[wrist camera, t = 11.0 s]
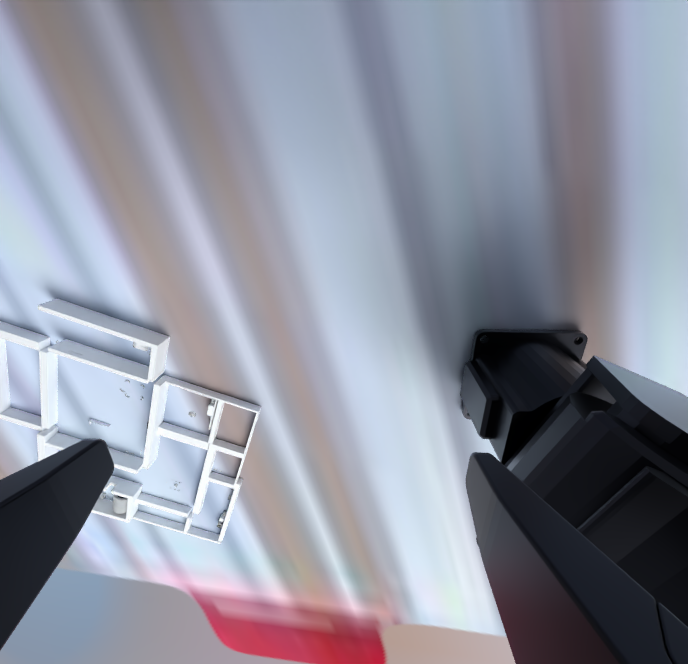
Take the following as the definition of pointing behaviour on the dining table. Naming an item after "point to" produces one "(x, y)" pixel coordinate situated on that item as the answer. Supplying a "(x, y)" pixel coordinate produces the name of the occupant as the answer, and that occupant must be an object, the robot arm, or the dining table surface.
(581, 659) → the robot arm
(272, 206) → the dining table surface
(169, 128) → the dining table surface
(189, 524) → the floor plan model
